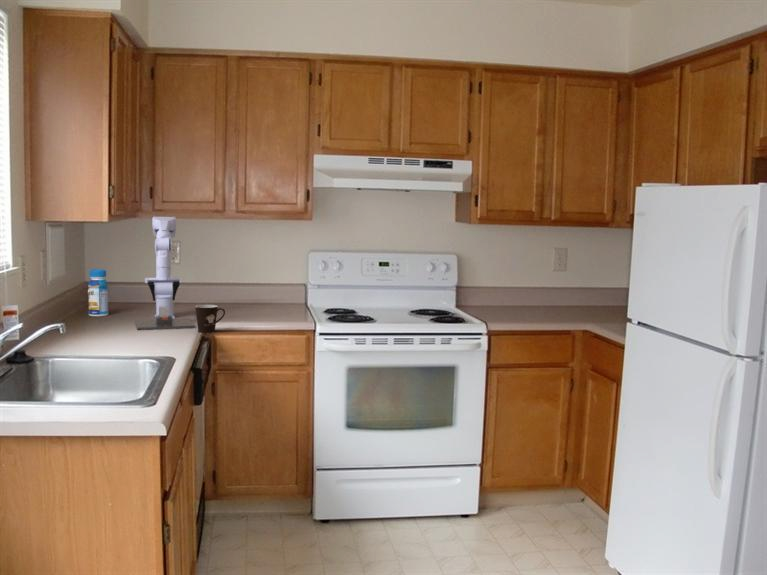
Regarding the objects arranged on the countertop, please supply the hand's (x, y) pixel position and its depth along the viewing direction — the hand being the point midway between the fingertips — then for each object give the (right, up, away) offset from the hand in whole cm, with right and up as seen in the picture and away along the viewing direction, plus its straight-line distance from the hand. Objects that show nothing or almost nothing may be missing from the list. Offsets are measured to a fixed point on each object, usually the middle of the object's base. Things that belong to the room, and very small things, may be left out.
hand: (163, 300), depth 305 cm
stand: (0, -10, +1) cm, 10 cm away
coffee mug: (+22, -12, -12) cm, 28 cm away
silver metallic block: (0, -9, +1) cm, 9 cm away
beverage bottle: (-35, -7, +23) cm, 43 cm away
